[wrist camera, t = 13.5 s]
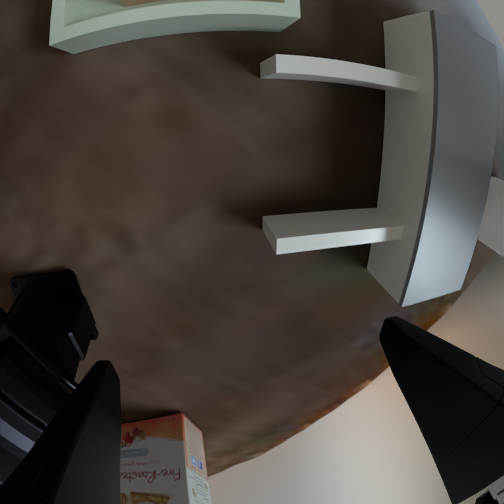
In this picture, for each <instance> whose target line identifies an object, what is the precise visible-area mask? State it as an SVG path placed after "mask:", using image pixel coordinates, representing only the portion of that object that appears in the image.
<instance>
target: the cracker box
mask: <svg viewBox="0 0 504 504" xmlns="http://www.w3.org/2000/svg"><path fill="white" fill-rule="evenodd" d="M120 492H121V504H212V503H211V496H210V490H209V483H208V476H207V469H206V462H205V454H204V446H203V438H202V432H201V430H199V429H198V428H197V427H196V426H195V425H194V424H193V423H192V422H191V421H190V420H189V419H188V418H187V417H186V416H185V415H184V414H183V413H177V414H173V415H168V416H163V417H158V418H153V419H148V420H142V421H136V422H131V423H124V424H122V426H121V455H120Z"/></svg>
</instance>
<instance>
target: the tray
mask: <svg viewBox="0 0 504 504" xmlns="http://www.w3.org/2000/svg"><path fill="white" fill-rule="evenodd" d="M300 18H301V17H300V0H165V1H158V2H151V3H144V4H139V5H133V6H128V7H126V5H125V4H124V2H123V1H122V0H53V3H52V12H51V23H50V40H49V46H52V47H55V48H58V49H61V50H63V51H66V52H69V53H72V54H76V53H79V52H83V51H87V50H90V49H94V48H98V47H102V46H106V45H111V44H115V43H120V42H125V41H130V40H136V39H142V38H148V37H155V36H162V35H170V34H180V33H191V32H206V31H268V32H281V31H283V30H284V29H285V28H287V27H288V26H289V25H291V24H292V23H294V22H295V21H297V20H298V19H300Z"/></svg>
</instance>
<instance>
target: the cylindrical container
mask: <svg viewBox="0 0 504 504" xmlns="http://www.w3.org/2000/svg"><path fill="white" fill-rule="evenodd" d="M477 239H478V240H480V241H481V242H483V243H484V244H485V245H487V246H488V247H490V248H491V249H493V250H494V251H495V252H497V253H498V254H500V255H501V256H502V257H504V181H502V180H500V179H498V178H496V177H492V176H491V179H490V185H489V190H488V196H487V200H486V205H485V210H484V214H483V218H482V222H481V226H480V230H479V234H478V237H477Z"/></svg>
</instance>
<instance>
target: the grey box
mask: <svg viewBox="0 0 504 504" xmlns="http://www.w3.org/2000/svg"><path fill="white" fill-rule="evenodd" d="M122 1H123V2H124V4H125V5H126V7H128V6H133V5H139V4H144V3H151V2H158V1H165V0H122Z"/></svg>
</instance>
